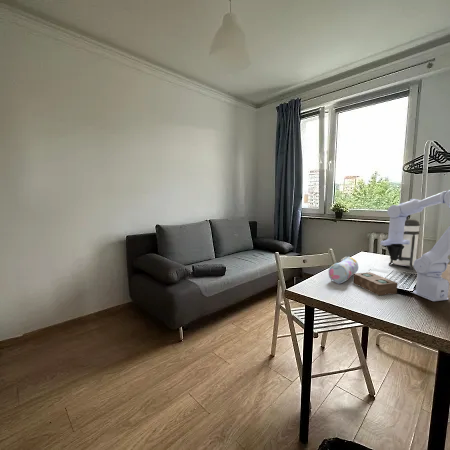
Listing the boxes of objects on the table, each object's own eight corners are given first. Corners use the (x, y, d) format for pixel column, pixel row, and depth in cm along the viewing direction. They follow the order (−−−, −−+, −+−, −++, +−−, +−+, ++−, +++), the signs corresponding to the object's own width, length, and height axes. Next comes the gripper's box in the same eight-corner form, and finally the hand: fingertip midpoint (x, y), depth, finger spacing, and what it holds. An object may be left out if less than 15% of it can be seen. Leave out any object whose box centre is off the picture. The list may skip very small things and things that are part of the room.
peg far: (372, 285, 107) (372, 276, 107) (366, 285, 107) (366, 276, 106) (366, 282, 110) (367, 273, 110) (360, 283, 110) (361, 274, 109)
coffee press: (378, 262, 145) (383, 213, 141) (405, 262, 144) (410, 213, 140) (398, 271, 128) (403, 215, 124) (428, 271, 127) (435, 215, 123)
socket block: (396, 293, 99) (397, 283, 98) (378, 295, 97) (379, 284, 96) (369, 281, 112) (370, 272, 112) (353, 282, 110) (353, 273, 110)
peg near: (387, 292, 99) (388, 282, 99) (381, 292, 99) (382, 283, 98) (381, 289, 103) (382, 279, 102) (375, 289, 102) (375, 280, 101)
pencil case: (340, 271, 127) (341, 254, 126) (358, 275, 122) (359, 257, 120) (326, 282, 112) (327, 262, 111) (346, 286, 106) (348, 266, 105)
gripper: (400, 229, 115) (398, 256, 117) (375, 230, 112) (373, 258, 114) (415, 231, 108) (412, 260, 110) (389, 232, 105) (386, 262, 107)
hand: (393, 259), depth 111 cm, fingers closed
